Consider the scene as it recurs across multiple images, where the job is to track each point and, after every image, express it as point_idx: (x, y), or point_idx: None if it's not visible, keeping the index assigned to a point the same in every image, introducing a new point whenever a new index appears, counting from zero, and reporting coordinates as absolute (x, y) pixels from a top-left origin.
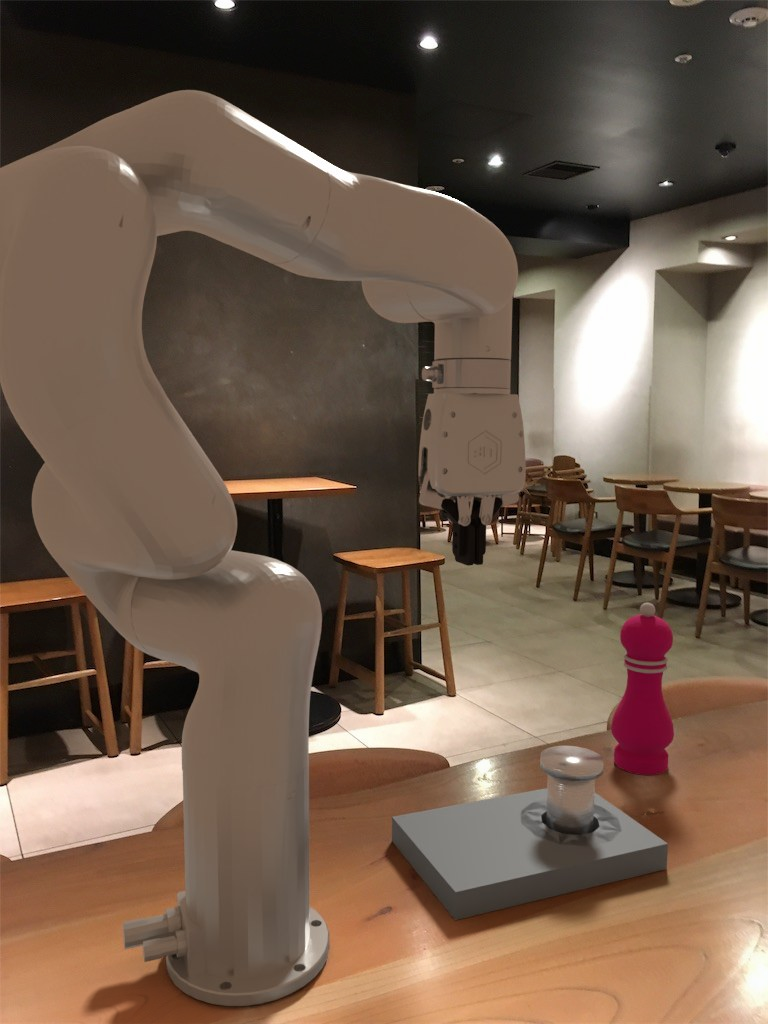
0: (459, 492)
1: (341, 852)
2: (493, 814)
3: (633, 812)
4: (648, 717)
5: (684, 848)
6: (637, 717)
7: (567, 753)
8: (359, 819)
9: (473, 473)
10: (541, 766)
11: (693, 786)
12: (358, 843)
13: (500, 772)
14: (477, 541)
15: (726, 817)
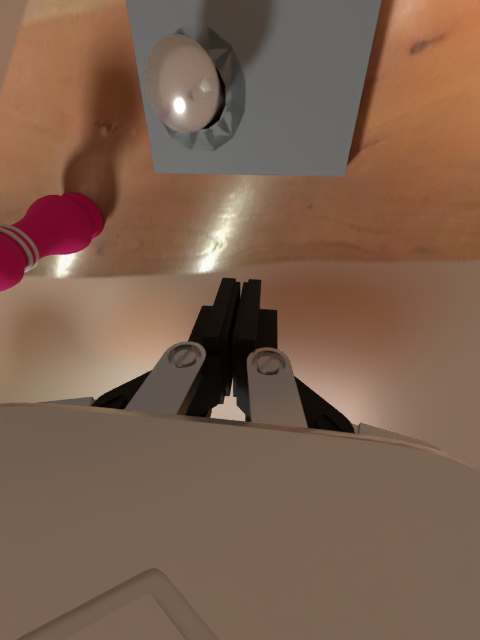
0: (364, 443)
1: (387, 171)
2: (259, 141)
3: (121, 134)
4: (50, 210)
5: (102, 39)
6: (61, 216)
7: (180, 104)
8: (342, 219)
9: (262, 602)
10: (218, 100)
11: (50, 159)
12: (366, 180)
13: (200, 248)
14: (230, 310)
15: (39, 85)
